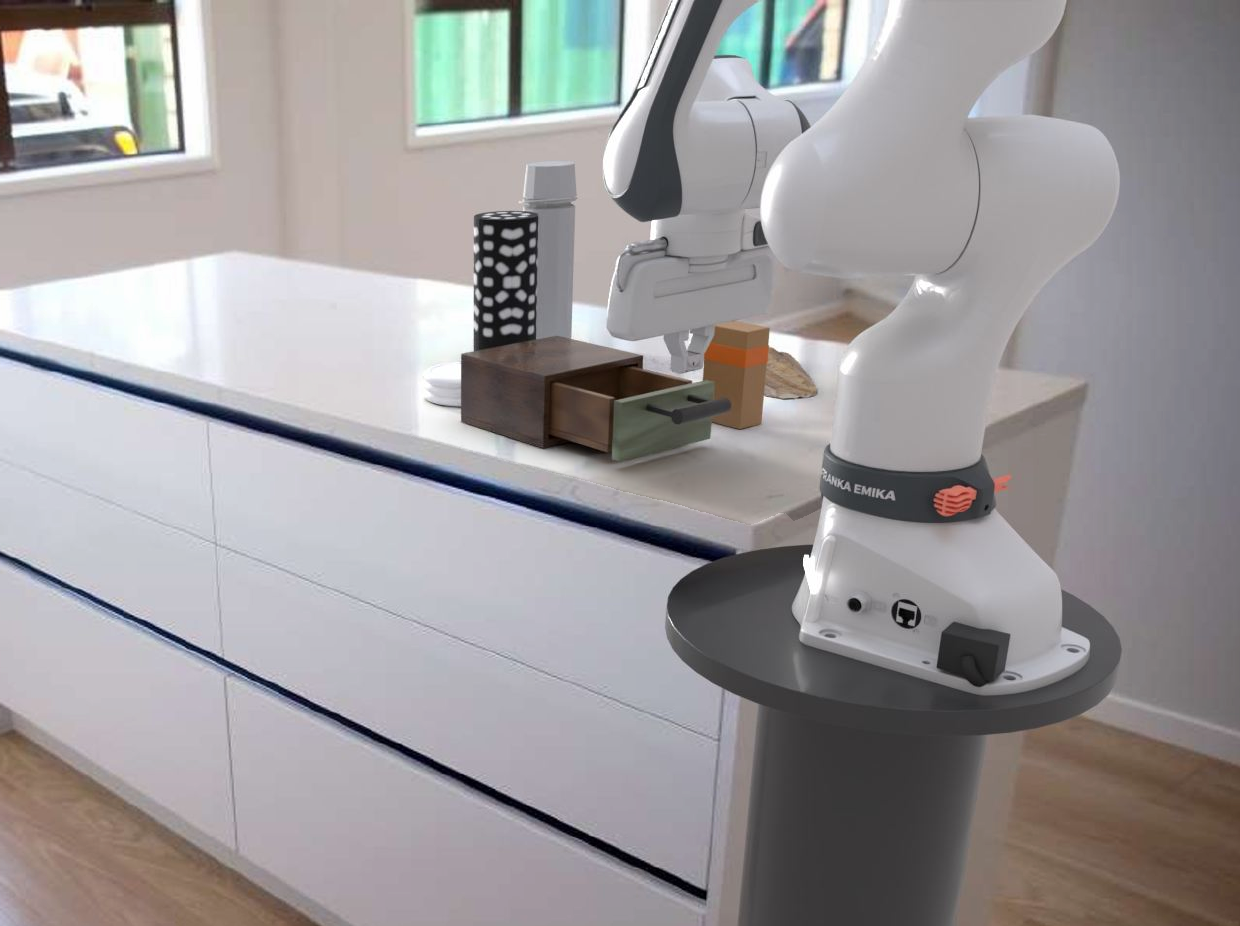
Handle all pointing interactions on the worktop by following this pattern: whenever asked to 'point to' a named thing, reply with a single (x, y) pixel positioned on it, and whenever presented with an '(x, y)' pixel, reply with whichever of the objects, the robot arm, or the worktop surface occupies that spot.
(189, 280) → the worktop surface
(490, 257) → the white-spotted black cylinder
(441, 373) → the white round shallow piece
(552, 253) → the water bottle
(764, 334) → the block
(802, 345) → the worktop surface
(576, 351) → the cabinet
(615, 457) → the drawer
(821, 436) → the worktop surface
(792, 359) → the fish fossil
